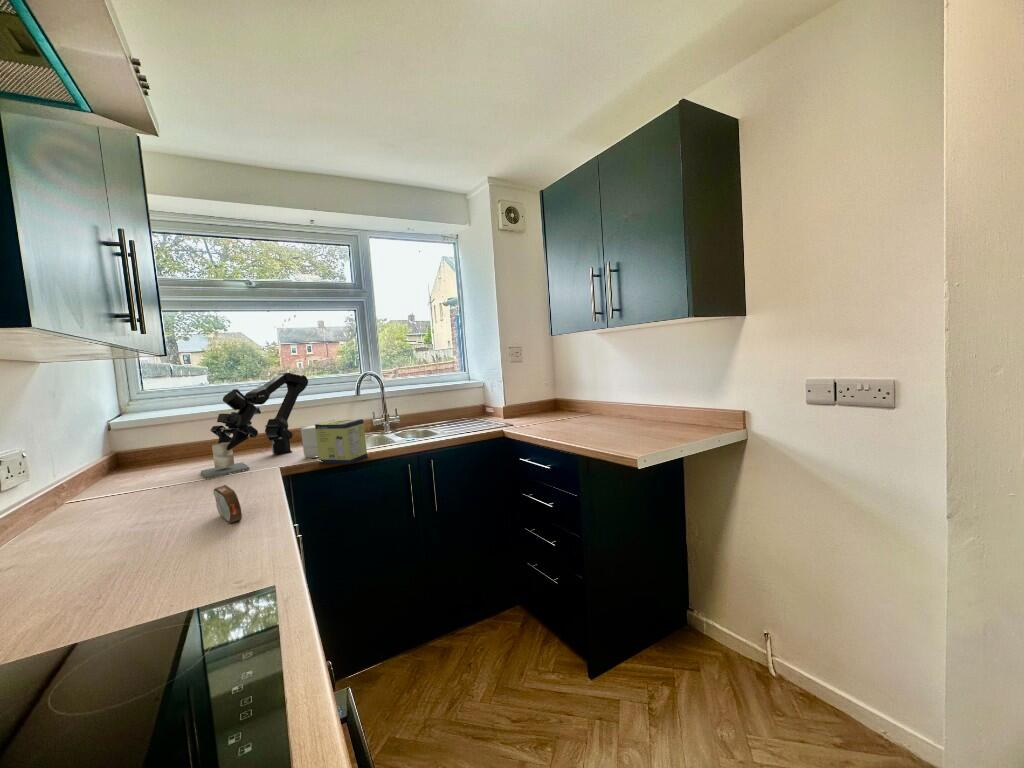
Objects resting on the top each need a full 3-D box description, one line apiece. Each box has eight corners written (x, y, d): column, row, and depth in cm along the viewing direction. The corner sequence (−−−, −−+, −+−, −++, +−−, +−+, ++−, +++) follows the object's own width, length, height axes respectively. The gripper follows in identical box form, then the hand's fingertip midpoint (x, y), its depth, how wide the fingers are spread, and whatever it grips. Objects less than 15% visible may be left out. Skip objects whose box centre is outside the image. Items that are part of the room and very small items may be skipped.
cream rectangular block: (225, 464, 169) (222, 442, 169) (234, 464, 168) (231, 442, 167) (215, 468, 165) (211, 445, 164) (224, 468, 164) (220, 445, 163)
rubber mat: (242, 464, 177) (242, 462, 176) (249, 469, 166) (249, 467, 166) (201, 473, 167) (200, 470, 167) (205, 479, 157) (205, 476, 157)
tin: (244, 523, 109) (239, 491, 108) (229, 527, 107) (225, 494, 106) (228, 511, 119) (224, 481, 119) (215, 515, 117) (210, 485, 116)
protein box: (337, 456, 178) (333, 419, 177) (368, 456, 173) (364, 418, 171) (318, 463, 168) (313, 424, 167) (350, 464, 163) (345, 423, 162)
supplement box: (329, 452, 186) (326, 424, 185) (320, 457, 179) (316, 427, 178) (313, 453, 187) (310, 425, 186) (303, 458, 179) (300, 428, 178)
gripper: (211, 406, 172) (188, 439, 163) (247, 404, 167) (226, 438, 158) (231, 421, 181) (210, 454, 171) (267, 420, 175) (247, 453, 166)
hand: (222, 449), depth 166 cm, fingers closed on cream rectangular block, 4 cm apart
